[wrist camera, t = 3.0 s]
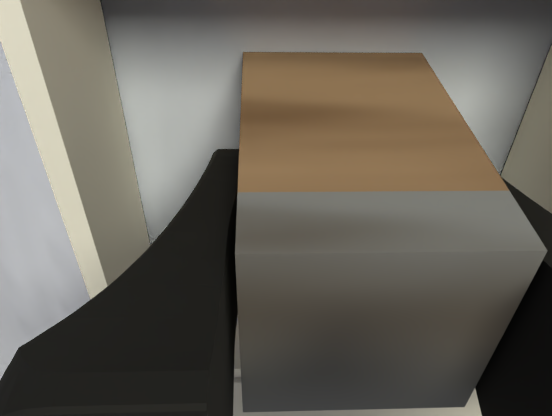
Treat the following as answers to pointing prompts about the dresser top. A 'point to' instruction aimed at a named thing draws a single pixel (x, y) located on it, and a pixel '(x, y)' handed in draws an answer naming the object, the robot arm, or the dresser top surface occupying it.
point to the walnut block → (368, 237)
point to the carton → (118, 159)
